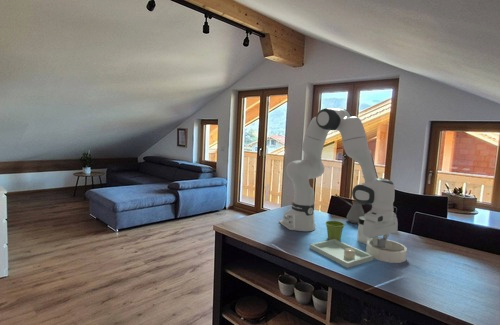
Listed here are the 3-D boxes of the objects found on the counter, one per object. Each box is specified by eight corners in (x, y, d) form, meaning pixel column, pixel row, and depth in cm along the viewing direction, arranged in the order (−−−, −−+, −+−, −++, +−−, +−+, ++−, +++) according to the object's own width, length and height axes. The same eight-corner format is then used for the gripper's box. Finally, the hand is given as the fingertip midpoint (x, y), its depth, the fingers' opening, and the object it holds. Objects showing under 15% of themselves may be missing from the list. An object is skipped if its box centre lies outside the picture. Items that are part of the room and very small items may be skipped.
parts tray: (309, 249, 135) (310, 244, 135) (334, 243, 144) (334, 238, 143) (347, 269, 117) (347, 263, 116) (373, 261, 125) (373, 255, 124)
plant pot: (321, 239, 149) (321, 222, 148) (330, 235, 156) (331, 219, 155) (337, 244, 142) (338, 227, 141) (346, 240, 149) (348, 223, 148)
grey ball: (372, 245, 134) (373, 237, 133) (378, 243, 136) (379, 236, 136) (381, 248, 130) (381, 241, 130) (387, 247, 132) (387, 239, 132)
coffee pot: (369, 222, 181) (370, 198, 179) (361, 226, 173) (362, 201, 171) (337, 214, 196) (338, 192, 194) (328, 218, 188) (330, 195, 186)
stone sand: (341, 257, 126) (342, 249, 126) (348, 255, 129) (349, 247, 128) (349, 261, 123) (350, 253, 122) (356, 259, 125) (357, 251, 125)
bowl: (358, 252, 133) (359, 242, 133) (380, 246, 142) (381, 236, 141) (391, 267, 120) (392, 255, 119) (413, 259, 128) (414, 248, 127)
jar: (356, 237, 153) (358, 215, 152) (373, 239, 151) (375, 217, 150) (357, 243, 145) (359, 220, 144) (375, 245, 142) (376, 222, 141)
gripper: (389, 210, 140) (387, 238, 141) (361, 215, 129) (359, 245, 131) (402, 213, 134) (400, 242, 136) (373, 219, 124) (371, 250, 125)
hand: (379, 244), depth 133 cm, fingers closed on grey ball, 4 cm apart
